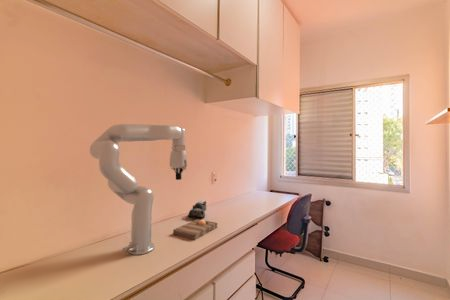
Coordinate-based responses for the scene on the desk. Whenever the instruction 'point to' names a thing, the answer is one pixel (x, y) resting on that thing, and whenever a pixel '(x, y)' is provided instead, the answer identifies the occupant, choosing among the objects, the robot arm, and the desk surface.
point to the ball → (202, 222)
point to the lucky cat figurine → (198, 210)
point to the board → (194, 229)
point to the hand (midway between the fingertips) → (178, 179)
